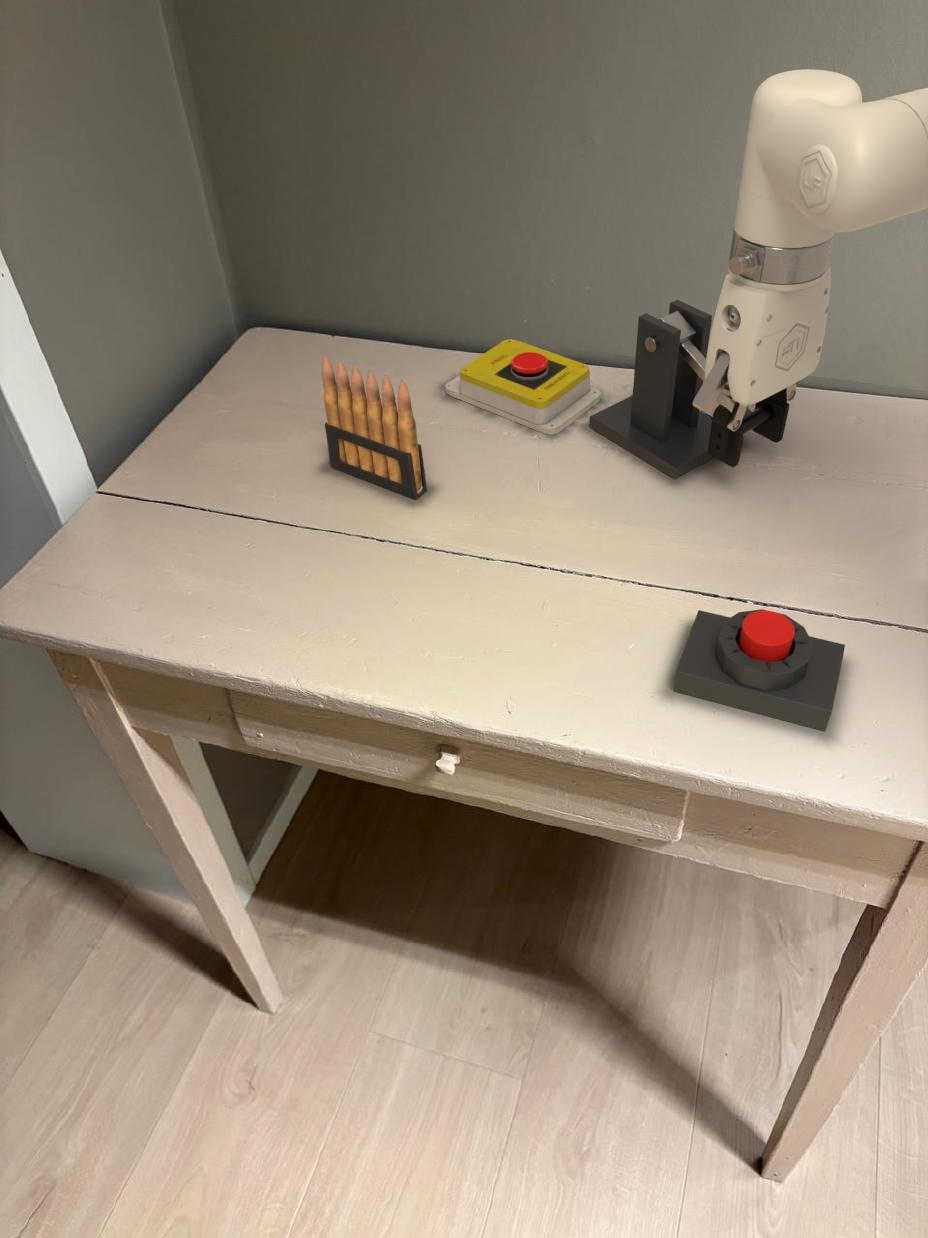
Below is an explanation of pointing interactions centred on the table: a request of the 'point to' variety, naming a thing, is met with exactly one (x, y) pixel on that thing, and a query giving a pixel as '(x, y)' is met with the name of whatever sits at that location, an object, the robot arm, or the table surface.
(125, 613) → the table surface
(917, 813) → the table surface
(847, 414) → the table surface
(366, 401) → the ammunition clip
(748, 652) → the red button
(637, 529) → the table surface
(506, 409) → the emergency button
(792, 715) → the button block
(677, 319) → the tap lever
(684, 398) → the lever stand
